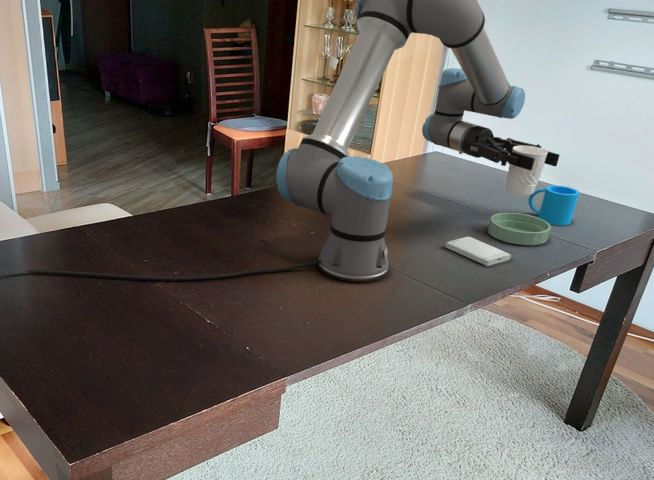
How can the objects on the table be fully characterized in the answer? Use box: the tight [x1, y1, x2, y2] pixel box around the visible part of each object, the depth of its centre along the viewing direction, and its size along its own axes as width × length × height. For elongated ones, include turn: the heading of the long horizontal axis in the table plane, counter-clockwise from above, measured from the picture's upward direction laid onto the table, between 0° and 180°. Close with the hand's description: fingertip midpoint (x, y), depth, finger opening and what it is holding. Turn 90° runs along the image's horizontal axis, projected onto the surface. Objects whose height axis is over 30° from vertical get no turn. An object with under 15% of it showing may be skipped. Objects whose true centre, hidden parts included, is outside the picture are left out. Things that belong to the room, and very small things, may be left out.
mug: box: [528, 184, 581, 226], centre depth 181 cm, size 12×8×8 cm
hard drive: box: [445, 236, 512, 267], centre depth 159 cm, size 2×8×12 cm
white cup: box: [504, 146, 548, 196], centre depth 164 cm, size 8×8×10 cm
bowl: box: [487, 212, 552, 246], centre depth 170 cm, size 14×14×4 cm
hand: (544, 162), depth 158 cm, fingers closed on white cup, 8 cm apart
